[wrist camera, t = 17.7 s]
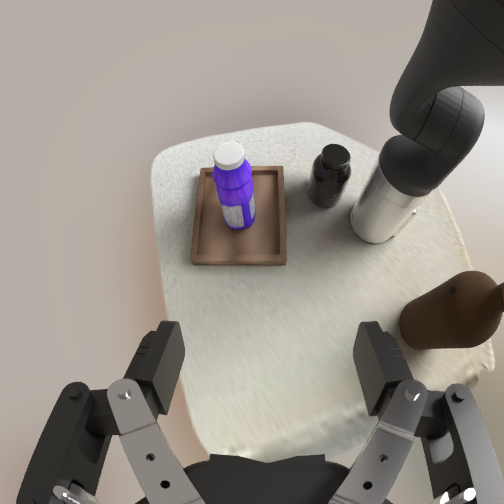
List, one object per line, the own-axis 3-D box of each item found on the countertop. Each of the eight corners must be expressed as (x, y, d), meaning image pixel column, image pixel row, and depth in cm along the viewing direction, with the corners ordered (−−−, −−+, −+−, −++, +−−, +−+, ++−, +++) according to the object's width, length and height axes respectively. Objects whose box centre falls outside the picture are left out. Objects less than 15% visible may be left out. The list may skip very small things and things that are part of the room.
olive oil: (396, 355, 43) (492, 347, 19) (394, 296, 46) (481, 246, 23) (443, 349, 42) (541, 332, 19) (440, 294, 46) (530, 248, 22)
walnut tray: (282, 173, 56) (283, 166, 53) (285, 265, 49) (286, 260, 47) (203, 175, 57) (200, 168, 54) (193, 264, 50) (190, 260, 48)
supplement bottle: (337, 213, 52) (353, 177, 41) (303, 202, 53) (310, 164, 42) (344, 184, 54) (358, 146, 43) (311, 174, 55) (319, 134, 44)
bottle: (222, 199, 53) (205, 137, 37) (252, 195, 53) (246, 130, 37) (226, 234, 51) (207, 178, 34) (258, 229, 51) (253, 171, 34)
